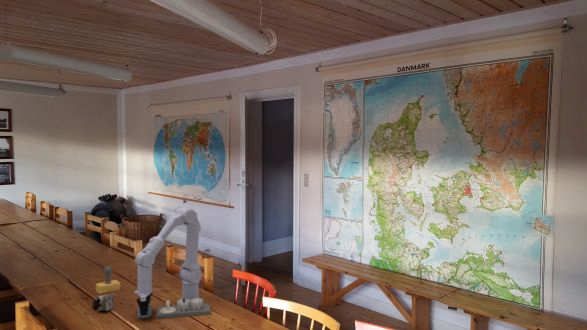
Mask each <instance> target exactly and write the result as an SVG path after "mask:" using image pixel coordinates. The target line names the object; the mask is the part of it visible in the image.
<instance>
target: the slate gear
mask: <svg viewBox="0 0 587 330" xmlns="http://www.w3.org/2000/svg"><path fill="white" fill-rule="evenodd" d="M136 308H137V310H136V311H137V312H136V315H137V317H138V318H139V319H140V318H142V319H146V318H150V317H151V316H152V315H153V306H151V304H149V306H148V311H147V315H143V316H141V312H140V308H139V306H138V307H136Z"/></svg>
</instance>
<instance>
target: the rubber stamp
mask: <svg viewBox="0 0 587 330" xmlns="http://www.w3.org/2000/svg"><path fill="white" fill-rule="evenodd" d="M112 270H113V269H112V267H111V266H105V268H104V270H103V273H104V275H105V278H106V281H102V282H99V283H96V284H95V292H96V293H98V294H99V295H100V294H107V293H111V292H115V291H119V290H121V282H120V281H118V280H117V279H114V280H110V278H111V275H112V272H113V271H112Z"/></svg>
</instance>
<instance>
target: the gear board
mask: <svg viewBox="0 0 587 330" xmlns="http://www.w3.org/2000/svg"><path fill="white" fill-rule="evenodd" d="M170 303H171V301H170V300H166V301H165V305H164V306H157V310H156V316H155V317H156V319H158V320H159V319H169V318H171V319H172V318H180V317H181V318H182V317H193V316H205V315H211V307H210V303H209V302H208V303H204V298H201V297H199V298H193V299H190V300H189V299H185V298H183V299H182V298H179V299H178V300H176V305H170Z"/></svg>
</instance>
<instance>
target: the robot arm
mask: <svg viewBox="0 0 587 330" xmlns="http://www.w3.org/2000/svg"><path fill="white" fill-rule="evenodd" d="M179 226H184V227H186V236H185V237H186V240H185V255H184V257H185V258H184V262H183V263H182V264H181V268H180V270H179V278H180V279H181V282H182V297H181V299H183V298H185V299H189V300H190V299H193V298H200V296H199V285H200V282H201V280H202V278H203V277H202V276H203V274H202V270H201V265H200V264H199V262H198V255H199V254H198V253H199V240H200V239H199V238H200V221H199V219H198V213H197V211H195V210H194V209H192V208H187V207H182V206H177V207H175V208H174V209H173V211H172V212H171V213H170V216H169V218H168V220H167V222H166V223H165V224H164V226H163V227H162V229H161V230H160V232H159V233H158V234H157V236H152V237H151V238H150V239H149V242H148V243H147V245H145V247H144V248H142V249H141V250H142V251H140V252H138V253H137V255H136V256H135V258H134V262H135V263H136V265H137V290H134V294H137V296H139V298H136V303H137V305H138V307H139V308H140V312H141V316H143V315H147V311H148V306H149V305H150V303H151V301H152V297H151V296H152V294H153V265H154V263H155V261H156V257H157V255H158V254H159V253H160V251H161V250H162V248H163V247H164V246H165V240H166V239H167V237H169V235H171V233H172V232H173V231H174V230H175V229H176V227H179Z"/></svg>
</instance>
